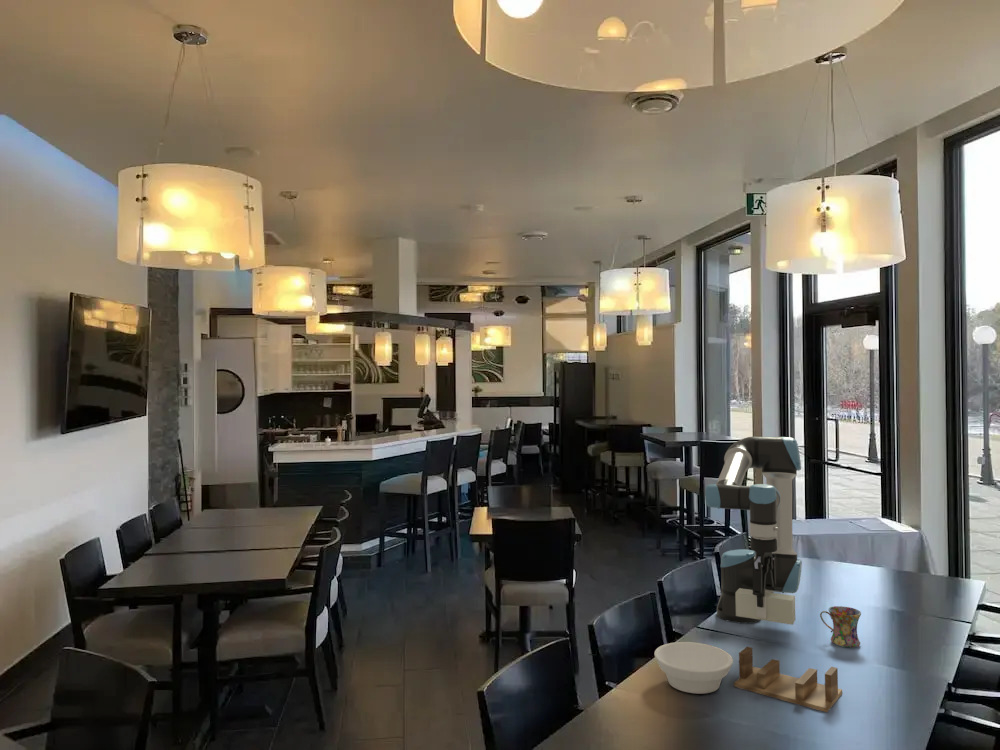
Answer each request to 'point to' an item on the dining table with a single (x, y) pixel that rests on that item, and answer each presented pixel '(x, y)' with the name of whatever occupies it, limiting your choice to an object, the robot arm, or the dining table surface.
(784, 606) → the block
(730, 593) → the robot arm
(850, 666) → the dining table surface
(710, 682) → the bowl
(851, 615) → the mug
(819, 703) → the rack
